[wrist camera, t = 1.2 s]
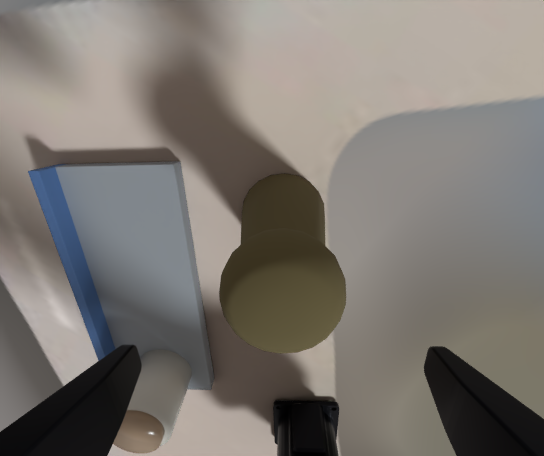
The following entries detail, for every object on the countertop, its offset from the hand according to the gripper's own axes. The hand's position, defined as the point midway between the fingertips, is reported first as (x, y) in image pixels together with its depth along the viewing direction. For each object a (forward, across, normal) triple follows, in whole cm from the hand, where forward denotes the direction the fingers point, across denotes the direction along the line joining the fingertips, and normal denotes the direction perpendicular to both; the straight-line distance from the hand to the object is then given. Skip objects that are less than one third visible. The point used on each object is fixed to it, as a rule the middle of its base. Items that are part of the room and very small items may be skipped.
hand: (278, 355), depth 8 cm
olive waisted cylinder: (+13, 0, 0) cm, 13 cm away
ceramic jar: (+11, +11, +14) cm, 21 cm away
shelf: (+13, +11, +6) cm, 18 cm away
